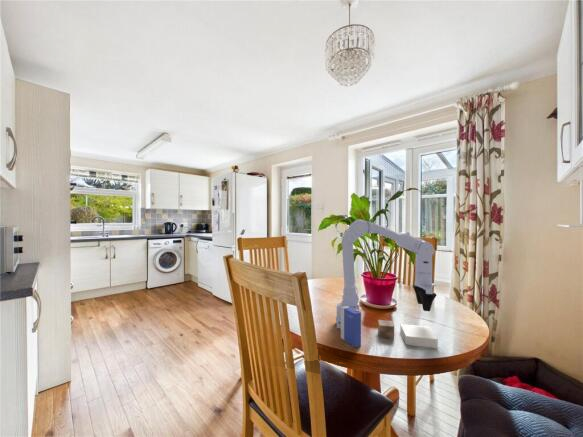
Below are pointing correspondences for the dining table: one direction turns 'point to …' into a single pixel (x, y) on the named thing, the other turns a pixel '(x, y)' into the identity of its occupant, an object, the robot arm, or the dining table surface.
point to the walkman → (351, 326)
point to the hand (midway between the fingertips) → (423, 307)
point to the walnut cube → (386, 329)
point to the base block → (418, 336)
